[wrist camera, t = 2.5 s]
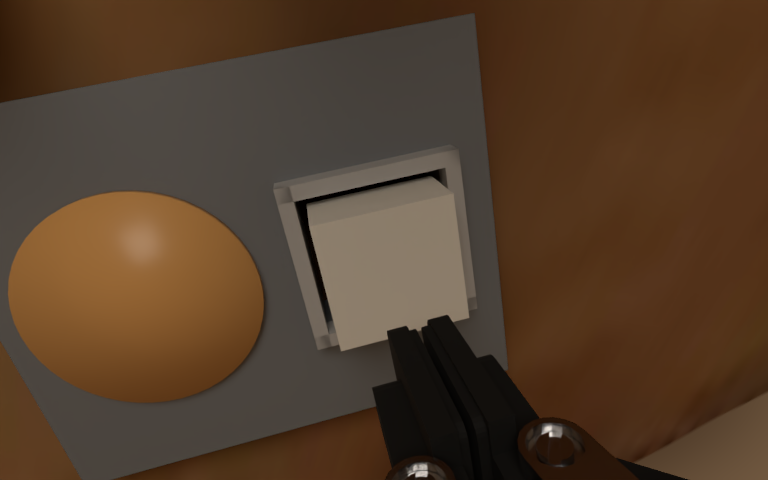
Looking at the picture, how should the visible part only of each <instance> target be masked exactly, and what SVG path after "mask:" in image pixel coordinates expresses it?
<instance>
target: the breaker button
mask: <svg viewBox="0 0 768 480" xmlns="http://www.w3.org/2000/svg"><path fill="white" fill-rule="evenodd" d="M307 213H308V222H309V229H310V232H311V236H312V240H313V244H314V248H315V252H316V256H317V260H318V264H319V267H320V271H321V275H322V279H323V283H324V287H325V291H326V295H327V299H328V302H329V306H330V310H331V314H332V318H333V322H334V326H335V330H336V334H337V337H338V341H339V345H340V349H341V351H345V350H348V349H352V348H356V347H360V346H364V345H368V344H371V343H375V342H379V341H383V340H387V339H388V336H387V331H388V330H391V329H395V328H399V327H403V326H407V327H408V329H409V330H413V329H416V330H417V331H421V328H422V327H424V326H428V325H427V320H429V319H433V318H436V317H440V316H444V315H448V316H449V317H450V319H451V320H452V322H455V321H459V320H463V319H467V318H469V312H468V304H467V296H466V288H465V280H464V272H463V264H462V256H461V248H460V241H459V233H458V225H457V217H456V209H455V201H454V193H452V192H451V191H450V190H448V189H447V188H446V187H445V186H443V185H442V184H441V183H440V182H438V181H437V180H436V179H435V178H433V177H432V176H427V177H422V178H418V179H414V180H409V181H405V182H400V183H396V184H391V185H387V186H383V187H378V188H374V189H369V190H365V191H361V192H356V193H352V194H347V195H343V196H338V197H334V198H330V199H325V200H321V201H316V202H312V203H308V204H307Z"/></svg>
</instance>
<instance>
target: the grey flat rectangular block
mask: <svg viewBox="0 0 768 480" xmlns="http://www.w3.org/2000/svg"><path fill="white" fill-rule="evenodd" d="M424 172H427V174H428V176H432V177H433V178H435V179H436V180H437V181H438V182H440V183H441V184H442V185H443V186H445V187H446V188H447V189H448V190H450V191H451V192H452V193H454V201H455V209H456V217H457V225H458V233H459V241H460V248H461V256H462V264H463V272H464V280H465V288H466V296H467V304H468V312H469V318H467V319H463V320H459V321H455V322H453V323H454V324H455V326H456V327H457V329H458V330H459V332H460V333H461V335H462V336H463V338H464V339H465V341H466V342H467V344H468V345H469V347H470V348H471V350H472V351H473V353H474V354H475V356H476V357H477V358H478V357H482V356H485V355H489V354H491V355H493V356H494V357H495V359H496V360H497V361H498V363H499V364H500V365H501V367H502V368H503V369H504V371H505V370H508V363H507V352H506V342H505V331H504V320H503V310H502V299H501V289H500V278H499V267H498V257H497V246H496V236H495V225H494V215H493V204H492V193H491V183H490V172H489V162H488V151H487V140H486V130H485V119H484V109H483V98H482V87H481V77H480V66H479V56H478V45H477V34H476V24H475V13H472V14H466V15H461V16H456V17H451V18H445V19H440V20H435V21H430V22H424V23H419V24H414V25H408V26H403V27H398V28H393V29H387V30H382V31H377V32H372V33H366V34H361V35H356V36H350V37H345V38H340V39H335V40H329V41H324V42H319V43H314V44H308V45H303V46H298V47H292V48H287V49H282V50H277V51H271V52H266V53H261V54H256V55H250V56H245V57H240V58H234V59H229V60H224V61H219V62H213V63H208V64H203V65H198V66H192V67H187V68H182V69H176V70H171V71H166V72H161V73H155V74H150V75H145V76H140V77H134V78H129V79H124V80H119V81H113V82H108V83H103V84H97V85H92V86H87V87H82V88H76V89H71V90H66V91H61V92H55V93H50V94H45V95H39V96H34V97H29V98H24V99H18V100H13V101H8V102H3V103H0V341H1V342H2V344H3V346H4V348H5V349H6V351H7V353H8V354H9V356H10V358H11V360H12V361H13V363H14V365H15V366H16V368H17V370H18V371H19V373H20V375H21V377H22V378H23V380H24V382H25V383H26V385H27V387H28V389H29V390H30V392H31V394H32V395H33V397H34V399H35V400H36V402H37V404H38V406H39V407H40V409H41V411H42V412H43V414H44V416H45V418H46V419H47V421H48V423H49V424H50V426H51V428H52V429H53V431H54V433H55V435H56V436H57V438H58V440H59V441H60V443H61V445H62V447H63V448H64V450H65V452H66V453H67V455H68V457H69V458H70V460H71V462H72V464H73V465H74V467H75V469H76V470H77V472H78V474H79V476H80V477H81V479H82V480H112V479H116V478H119V477H123V476H126V475H130V474H134V473H137V472H141V471H144V470H148V469H152V468H155V467H159V466H162V465H166V464H170V463H173V462H177V461H180V460H184V459H188V458H191V457H195V456H198V455H202V454H206V453H209V452H213V451H216V450H220V449H224V448H227V447H231V446H235V445H238V444H242V443H245V442H249V441H253V440H256V439H260V438H263V437H267V436H271V435H274V434H278V433H281V432H285V431H289V430H292V429H296V428H299V427H303V426H307V425H310V424H314V423H317V422H321V421H325V420H328V419H332V418H335V417H339V416H343V415H346V414H350V413H353V412H357V411H361V410H364V409H368V408H371V407H375V406H376V403H375V399H374V395H373V390H372V387H375V386H379V385H382V384H386V383H389V382H393V381H396V380H397V379H396V374H395V370H394V365H393V360H392V355H391V351H390V346H389V341H388V339H387V340H383V341H379V342H375V343H371V344H368V345H364V346H360V347H356V348H352V349H348V350H345V351H341V349H340V345H339V341H338V337H337V334H336V330H335V326H334V322H333V318H332V314H331V310H330V306H329V302H328V300H324V298H323V294H322V290H321V287H320V283H319V279H318V275H317V271H316V267H315V264H314V260H313V256H312V252H311V248H310V244H309V241H308V237H307V233H306V229H305V225H304V221H303V218H302V214H301V210H300V206H299V202H298V201H300V200H304V199H309V198H313V197H318V196H322V195H326V194H331V193H335V192H340V191H344V190H349V189H353V188H358V187H362V186H366V185H371V184H375V183H380V182H384V181H389V180H393V179H398V178H402V177H406V176H411V175H415V174H420V173H424ZM417 332H418V334H419V336H420V338H421V340H422V342H423V337H422V331H417ZM423 344H424V342H423Z"/></svg>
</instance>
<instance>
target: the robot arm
mask: <svg viewBox="0 0 768 480" xmlns="http://www.w3.org/2000/svg"><path fill="white" fill-rule="evenodd" d="M427 325H428V326H424V327H422V328H421V331H422V337H423V342H424V344H423V342H422V340H421V338H420V336H419V334H418V332H417V330H416V329H413V330H409V329H408V327H407V326H403V327H399V328H395V329H391V330H388V331H387V336H388V341H389V346H390V351H391V355H392V360H393V365H394V370H395V374H396V379H397V380H396V381H393V382H389V383H386V384H382V385H379V386H375V387H372V390H373V395H374V399H375V403H376V408H377V412H378V416H379V420H380V424H381V428H382V432H383V436H384V440H385V444H386V448H387V451H388V455H389V459H390V463H391V467H392V469H391V470H390V471H389V472H388V474H387V476H386V478H385V480H688V479H684V478H681V477H678V476H674V475H671V474H668V473H664V472H661V471H658V470H654V469H651V468H648V467H644V466H641V465H637V464H634V463H631V462H628V461H624V460H621V459H618V458H615V457H614V456H613V455H611V454H610V453H609V452H608V451H607V450H606V449H605V448H604V447H603V446H602V445H600V444H599V443H598V442H597V441H596V440H595V439H594V438H593V437H592V436H591V435H589V434H588V433H587V432H586V431H585V430H584V429H582V428H581V427H580V426H578V425H577V424H575V423H573V422H570V421H568V420H565V419H561V418H555V417H547V418H539V417H538V416H537V414H536V413H535V411H534V410H533V409H532V407H531V406H530V405H529V403H528V402H527V401H526V399H525V398H524V397H523V395H522V394H521V392H520V391H519V390H518V388H517V387H516V386H515V384H514V383H513V382H512V380H511V379H510V378H509V376H508V375H507V373H506V372H505V371H504V369H503V368H502V367H501V365H500V364H499V363H498V361H497V360H496V359H495V357H494V356H493V355H491V354H489V355H485V356H482V357H478V358H477V357H476V356H475V354H474V353H473V351H472V350H471V348H470V347H469V345H468V344H467V342H466V341H465V339H464V338H463V336H462V335H461V333H460V332H459V330H458V329H457V327H456V326H455V324H454V323H453V322H452V320H451V319H450V317H449V316H448V315H444V316H440V317H436V318H433V319H429V320H427Z"/></svg>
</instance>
